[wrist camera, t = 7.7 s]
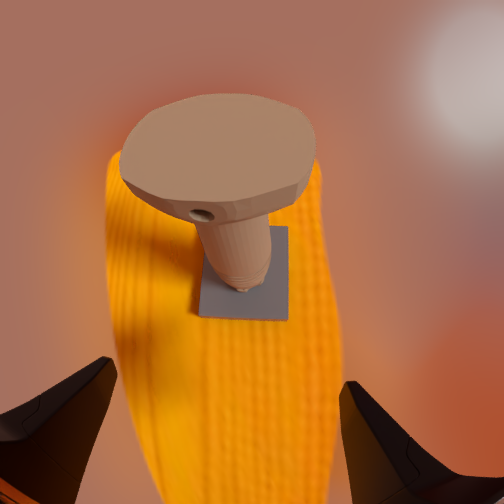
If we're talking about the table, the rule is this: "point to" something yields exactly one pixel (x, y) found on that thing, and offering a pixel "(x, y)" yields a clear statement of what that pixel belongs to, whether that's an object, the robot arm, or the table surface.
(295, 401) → the table surface
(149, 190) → the handle
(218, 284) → the plate
